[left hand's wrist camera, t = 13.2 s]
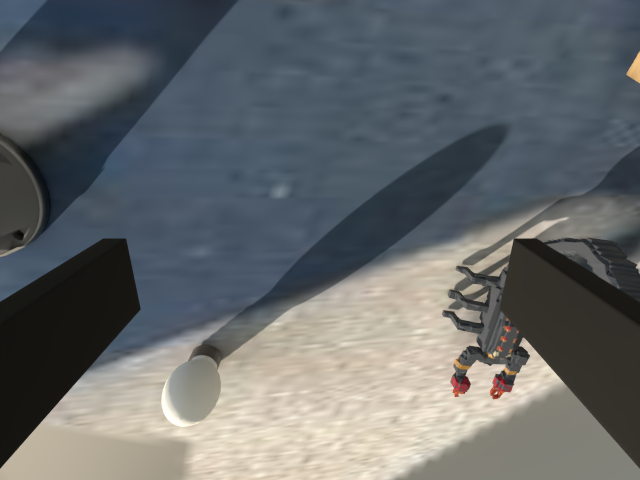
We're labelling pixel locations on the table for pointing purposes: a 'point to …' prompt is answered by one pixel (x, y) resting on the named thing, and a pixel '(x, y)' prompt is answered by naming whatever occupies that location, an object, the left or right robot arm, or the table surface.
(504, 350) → the toy
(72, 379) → the left robot arm
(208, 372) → the light bulb
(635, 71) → the long box
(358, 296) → the table surface
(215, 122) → the table surface
